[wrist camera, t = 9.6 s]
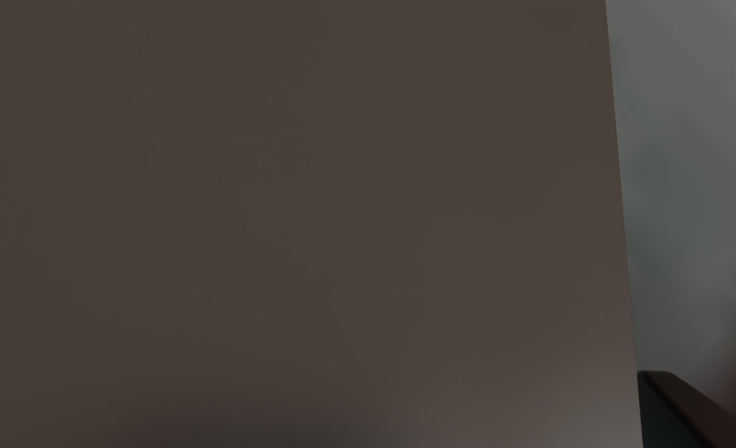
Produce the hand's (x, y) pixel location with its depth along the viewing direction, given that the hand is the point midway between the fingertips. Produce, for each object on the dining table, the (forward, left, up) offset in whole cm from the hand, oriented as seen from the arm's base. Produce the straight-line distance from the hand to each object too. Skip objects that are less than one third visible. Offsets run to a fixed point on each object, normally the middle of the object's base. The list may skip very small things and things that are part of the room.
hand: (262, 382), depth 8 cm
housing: (+1, -1, -8) cm, 9 cm away
